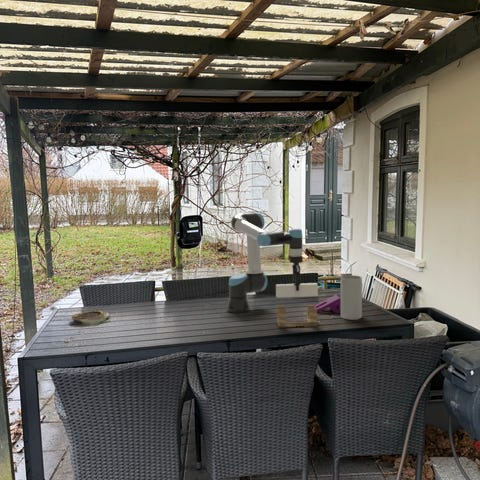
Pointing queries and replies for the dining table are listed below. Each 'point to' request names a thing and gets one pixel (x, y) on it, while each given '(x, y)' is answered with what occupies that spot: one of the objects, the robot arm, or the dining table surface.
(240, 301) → the robot arm
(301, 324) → the rack
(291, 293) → the bar
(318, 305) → the mounting bracket
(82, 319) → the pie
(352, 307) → the cylinder vase
